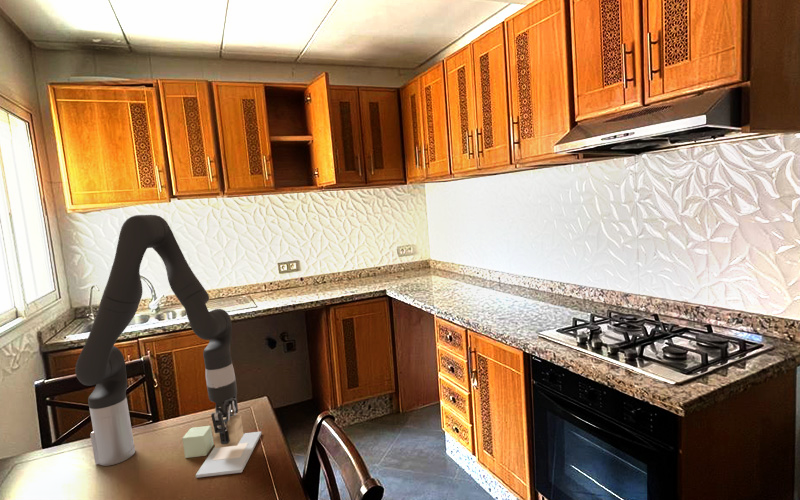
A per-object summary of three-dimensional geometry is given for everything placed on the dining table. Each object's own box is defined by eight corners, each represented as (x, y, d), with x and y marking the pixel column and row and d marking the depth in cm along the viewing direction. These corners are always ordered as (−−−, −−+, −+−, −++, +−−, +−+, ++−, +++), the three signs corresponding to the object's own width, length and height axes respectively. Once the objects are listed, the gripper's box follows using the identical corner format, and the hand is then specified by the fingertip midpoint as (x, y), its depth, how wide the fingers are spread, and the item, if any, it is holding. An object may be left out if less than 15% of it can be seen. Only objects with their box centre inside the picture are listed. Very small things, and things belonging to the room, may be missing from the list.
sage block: (185, 457, 128) (182, 438, 128) (193, 446, 134) (190, 427, 134) (206, 455, 129) (203, 435, 128) (213, 444, 135) (211, 425, 134)
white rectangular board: (196, 477, 118) (195, 474, 118) (222, 438, 138) (221, 435, 137) (241, 472, 118) (241, 469, 118) (261, 433, 138) (261, 431, 138)
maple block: (215, 447, 124) (212, 427, 124) (223, 436, 130) (220, 417, 130) (237, 445, 125) (234, 425, 124) (243, 434, 131) (240, 414, 130)
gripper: (216, 372, 133) (224, 426, 134) (197, 393, 118) (206, 452, 120) (242, 369, 133) (249, 423, 135) (225, 389, 119) (234, 449, 120)
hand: (229, 437), depth 127 cm, fingers closed on maple block, 6 cm apart
